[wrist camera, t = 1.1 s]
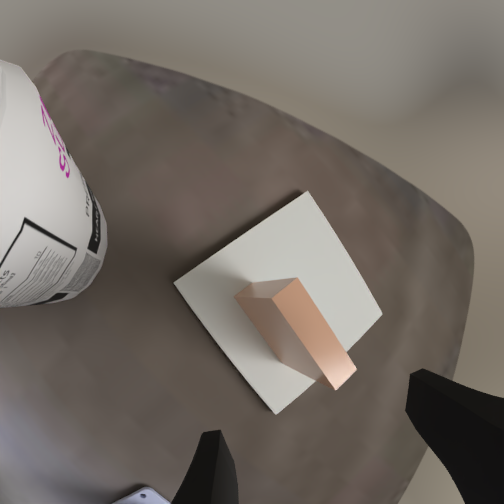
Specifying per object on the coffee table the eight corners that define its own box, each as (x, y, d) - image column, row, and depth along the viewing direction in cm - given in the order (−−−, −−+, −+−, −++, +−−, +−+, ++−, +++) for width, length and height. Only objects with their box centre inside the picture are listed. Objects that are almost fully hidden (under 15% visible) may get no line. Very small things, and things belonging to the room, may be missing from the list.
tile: (282, 363, 20) (335, 390, 14) (233, 296, 20) (271, 298, 13) (299, 348, 21) (357, 368, 14) (252, 281, 21) (298, 276, 14)
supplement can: (-3, 282, 15) (-160, 258, 1) (31, 173, 17) (-71, 41, 3) (91, 317, 18) (-43, 371, 3) (124, 199, 19) (82, 32, 5)
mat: (273, 411, 20) (276, 414, 20) (173, 282, 20) (173, 282, 19) (378, 313, 24) (382, 313, 24) (304, 193, 23) (307, 190, 23)
